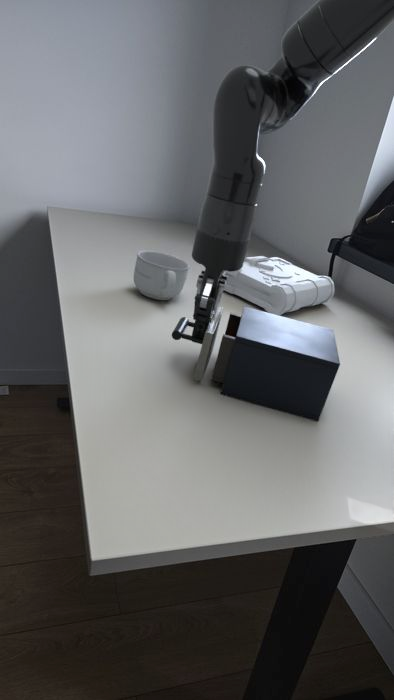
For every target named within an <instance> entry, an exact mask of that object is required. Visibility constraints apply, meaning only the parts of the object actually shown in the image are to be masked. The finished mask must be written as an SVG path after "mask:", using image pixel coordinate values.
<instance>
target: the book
mask: <svg viewBox="0 0 394 700" xmlns="http://www.w3.org/2000/svg"><path fill="white" fill-rule="evenodd" d="M223 276H226V277H228V278H227V282H226V286H225V288H224V290H223V291H225V292H227V293H229V294H231V295H236V296H238V297H240V298H242V299H244V300H246V301H248V302H250V303H252V304H254V305H257V306H258V307H261V308H263V309H264V311H265V312H267V313H271V314H275V315H278V316H282V315H283V314H285V313H286V314H287V313H290V312H294V311H298V310H300V308H307V307H313V306H316V305H320V304H324V303H328V302H329V301H330V300H331V299H333V297H334V295H335V291H336V289H335V283H334V281H333V279H332V278H331V277H330V276H327V275H318V274H315V273H313V272H310V271H308V270H305V269H303V268H301V267H299V266H296V265H294V264H293V263H292V262H290V261H288V260H285V259H284V258H281V257H278V256H273V257H266V256H264V255H259V256H248V257H245V260H244V264H243V267H242V268H241V269H240V270H238V271H233V272H228V271H224V273H223Z"/></svg>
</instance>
